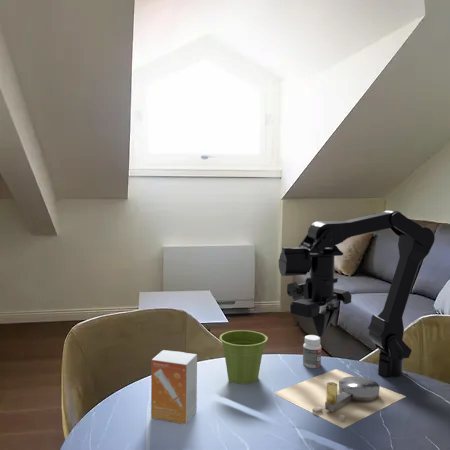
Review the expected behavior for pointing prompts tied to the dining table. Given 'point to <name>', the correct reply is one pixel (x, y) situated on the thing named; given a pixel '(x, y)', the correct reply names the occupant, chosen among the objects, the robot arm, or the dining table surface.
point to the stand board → (317, 388)
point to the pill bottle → (312, 351)
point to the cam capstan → (350, 392)
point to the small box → (174, 386)
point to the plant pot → (243, 355)
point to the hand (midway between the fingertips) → (320, 336)
